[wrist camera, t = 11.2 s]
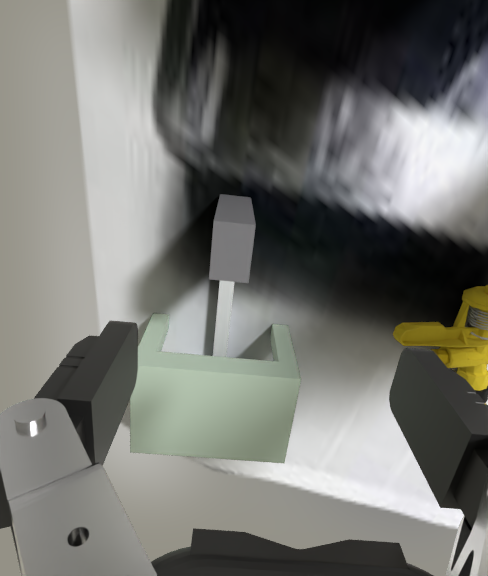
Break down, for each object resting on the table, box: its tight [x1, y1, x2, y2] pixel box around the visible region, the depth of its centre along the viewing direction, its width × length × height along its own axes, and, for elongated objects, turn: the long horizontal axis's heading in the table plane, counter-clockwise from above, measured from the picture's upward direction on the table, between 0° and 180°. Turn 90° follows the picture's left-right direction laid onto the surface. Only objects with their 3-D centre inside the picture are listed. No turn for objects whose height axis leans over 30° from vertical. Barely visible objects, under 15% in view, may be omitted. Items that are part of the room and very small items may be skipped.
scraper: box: [209, 194, 256, 357], centre depth 30 cm, size 6×16×9 cm, turn 174°
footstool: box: [130, 313, 301, 463], centre depth 33 cm, size 12×8×8 cm, turn 84°
